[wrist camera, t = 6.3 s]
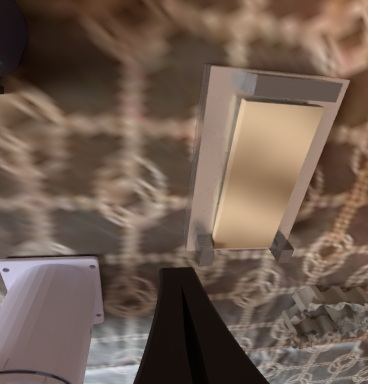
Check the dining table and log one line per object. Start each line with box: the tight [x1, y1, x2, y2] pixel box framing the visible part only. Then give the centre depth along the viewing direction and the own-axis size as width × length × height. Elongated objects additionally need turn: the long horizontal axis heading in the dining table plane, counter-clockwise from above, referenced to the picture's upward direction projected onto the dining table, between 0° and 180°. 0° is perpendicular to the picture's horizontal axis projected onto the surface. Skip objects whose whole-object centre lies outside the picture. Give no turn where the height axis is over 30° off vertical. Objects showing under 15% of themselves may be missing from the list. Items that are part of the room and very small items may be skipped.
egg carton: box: [281, 285, 368, 349], centre depth 30 cm, size 11×8×4 cm
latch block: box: [183, 64, 350, 266], centre depth 18 cm, size 14×9×4 cm, turn 175°
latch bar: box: [211, 98, 325, 249], centre depth 18 cm, size 12×5×1 cm, turn 175°
